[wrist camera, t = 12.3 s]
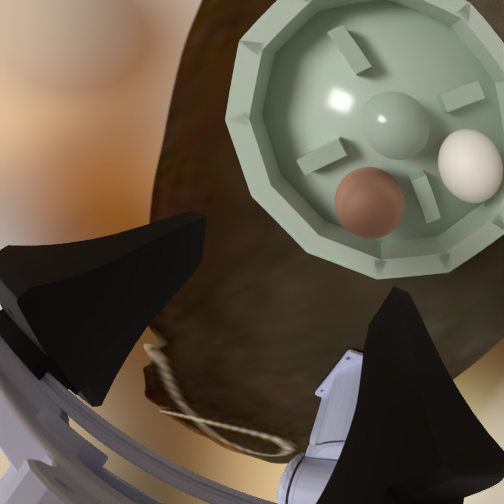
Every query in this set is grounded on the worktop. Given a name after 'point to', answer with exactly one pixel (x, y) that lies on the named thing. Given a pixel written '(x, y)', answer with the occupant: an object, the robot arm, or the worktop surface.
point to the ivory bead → (470, 165)
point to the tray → (330, 104)
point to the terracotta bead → (369, 202)
